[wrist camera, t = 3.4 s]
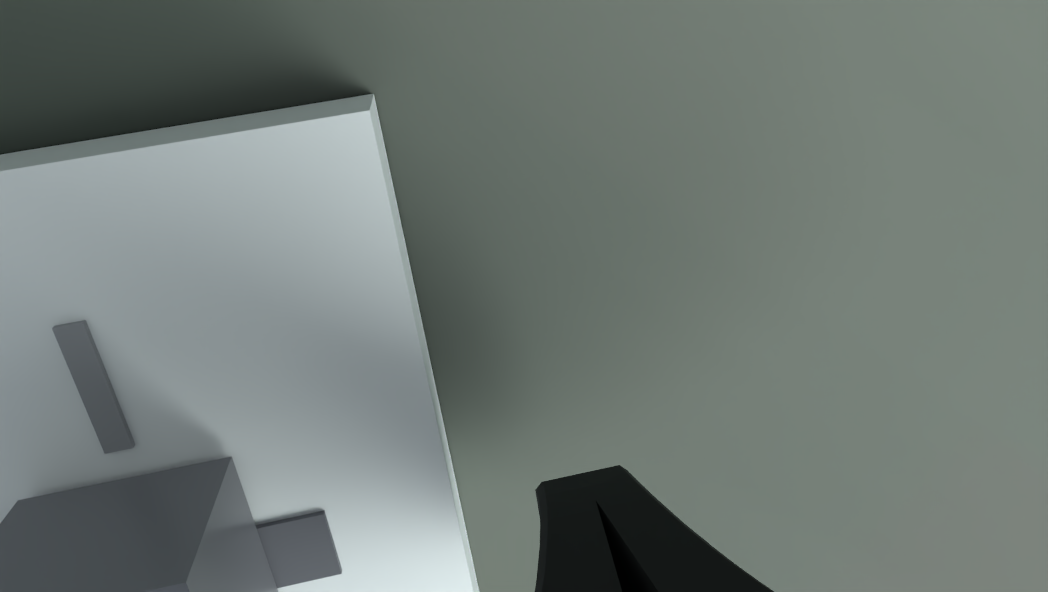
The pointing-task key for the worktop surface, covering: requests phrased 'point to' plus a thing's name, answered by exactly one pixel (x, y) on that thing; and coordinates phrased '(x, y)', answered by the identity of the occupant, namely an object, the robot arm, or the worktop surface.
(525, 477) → the worktop surface
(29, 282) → the fader console
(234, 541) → the fader tab
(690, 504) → the worktop surface
